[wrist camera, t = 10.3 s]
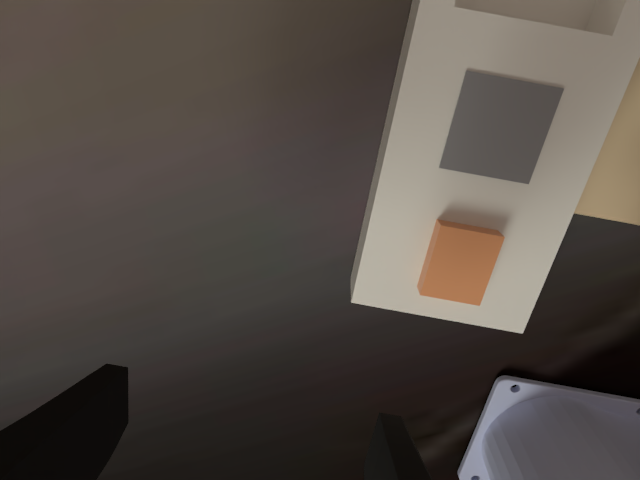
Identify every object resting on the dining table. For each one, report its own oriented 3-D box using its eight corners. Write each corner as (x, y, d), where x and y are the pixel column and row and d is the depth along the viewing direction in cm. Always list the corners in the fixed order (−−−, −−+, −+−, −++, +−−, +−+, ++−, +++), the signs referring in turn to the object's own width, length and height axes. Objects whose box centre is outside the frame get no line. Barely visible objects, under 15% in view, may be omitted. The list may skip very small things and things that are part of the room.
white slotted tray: (734, -289, 13) (858, -407, 10) (502, 305, 21) (529, 344, 18) (487, -336, 13) (532, -470, 10) (350, 278, 21) (351, 311, 18)
